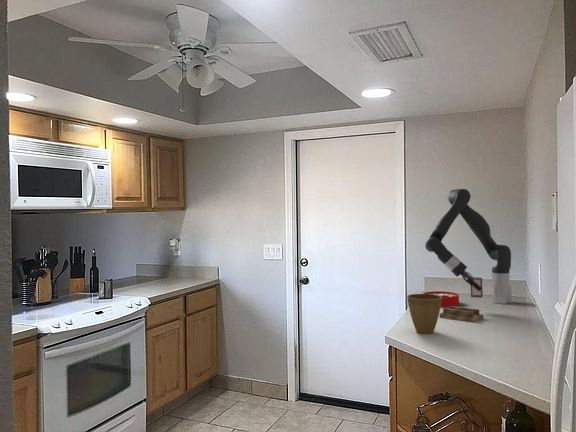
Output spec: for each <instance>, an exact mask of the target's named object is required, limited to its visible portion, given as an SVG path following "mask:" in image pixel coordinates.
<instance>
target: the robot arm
mask: <svg viewBox="0 0 576 432" xmlns="http://www.w3.org/2000/svg"><path fill="white" fill-rule="evenodd" d="M447 200H448V202H449V204H450V205H451V206H450V208H448V210H447V211H446V212H445V213H444V214H443V215H442V216H441V217H440V218H439V220H438V221H437V223H436V224H435V226H434V228H433V230H432V232H431V234H430V236H429V237H428V239H426V241H425V245H424V246H425V249H426V250H427V251H428V252H430V253H433V254H435V255H436V256H437V259H439V261H440V262H441V263H442V264H443V265H444V267H446V268H447V269H448V270H449V271H451V273H452V274H453V275H454V276H455V277H456V278H457V277H460V276H461V278H462V279H463V281H465V282H466V283H467V284H469V286H470V287H471V286H474V287H475V288H476V289H477V290H478V291H480V290H481V289H482V290H483V287H482V288H481V287H480V286H479V285H478V284H477V283H476V282H475V281H474V279H473V278H472V277H474V276H473V275H472V274H471V273H470V272H469V271H468V272H467V271H466V270H467V268H468V266H467V265H466V263H463V261H461V260H460V259H459V258H458V257H457V256H455V255H454V253H452V252H451V251H449V249H448V248H447V247H446V246H445V244H444V243H443V242H442V241H443V239H444V238H445V237H446V235H447V233H448V232H449V229H450V228H451V226H452V225H453V223H454V222H455V220H456V219H457V217H458V216H459V215H460V216H461V218H462V219H463V220H464V221H465V222H466V224H467V225H468V227H469V229H470V230H471V231H472V232H473V234H474V235H475V237H476V238H477V239H478V241H479V242H480V244H482V246H483V249H484V250H485V251H486V253H487V255H488V257H490V259H491V260H493V261H496V262H497V263H496V265H495V266H493V267H492V268H491V280H492V281H491V284H492V285H491V286H492V287H491V288H492V291H491V292H492V303H495V304H502V305H503V304H504V305H505V304H512V303H513V302H512V301H513V300H512V297H513V296H512V292H513V291H512V286H511V283H510V280H511V279H510V277H511V276H510V270H511V266H512V251H511V249H510V247H509V246H508V245H505V244H497V243H496V241H495V240H494V239H493V237H492V236H491V227H490V225H489V223H488V222H487V221H486V218H485V217H484V216H483V215H481V214H480V213H479V212H478V211H476V210H474V209H473V208H472V207H470V205H469V204H468V203H469V202H470V201H471V193H470V191H469V190H468V189H466V188H458V189H457V188H456V189H452V190H450V191H448V193H447ZM471 282H472V283H471Z"/></svg>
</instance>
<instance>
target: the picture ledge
mask: <svg viewBox="0 0 576 432" xmlns="http://www.w3.org/2000/svg"><path fill="white" fill-rule="evenodd" d="M442 309H443V310H442V312H439V318H443V319H447V320H448V319H449V320H456V321H463V322H468V323H469V322H470V323H476V322H479V321H481V320H483V319H484V314H481V313H480V309H476V308H470V307H469V308H468V307H464V306H463V307H460V306H449V307H442Z"/></svg>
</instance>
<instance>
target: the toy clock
mask: <svg viewBox="0 0 576 432" xmlns="http://www.w3.org/2000/svg"><path fill="white" fill-rule="evenodd" d="M422 294H433V295H438V296H441V297H442V300H441V307H440V308H449V306H455V307H459V306H460V294H459V293H457V292H452V291H438V290H437V291H426V292H423V293H422Z"/></svg>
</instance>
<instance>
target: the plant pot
mask: <svg viewBox="0 0 576 432" xmlns="http://www.w3.org/2000/svg"><path fill="white" fill-rule="evenodd" d="M441 300H442V297H441V296H438V295H433V294H423V293H415V294H414V293H411V294H408V295H407V303H408V309H409V315H410V316H411V321H412V324H413V326H414V328H415V332H417V333H418V334H425V335H427V334H433V333H434V331H435V328H436V327H437V322H438V319H439V317H440V313H441V312H440V311H441V308H442V307H441Z"/></svg>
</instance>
